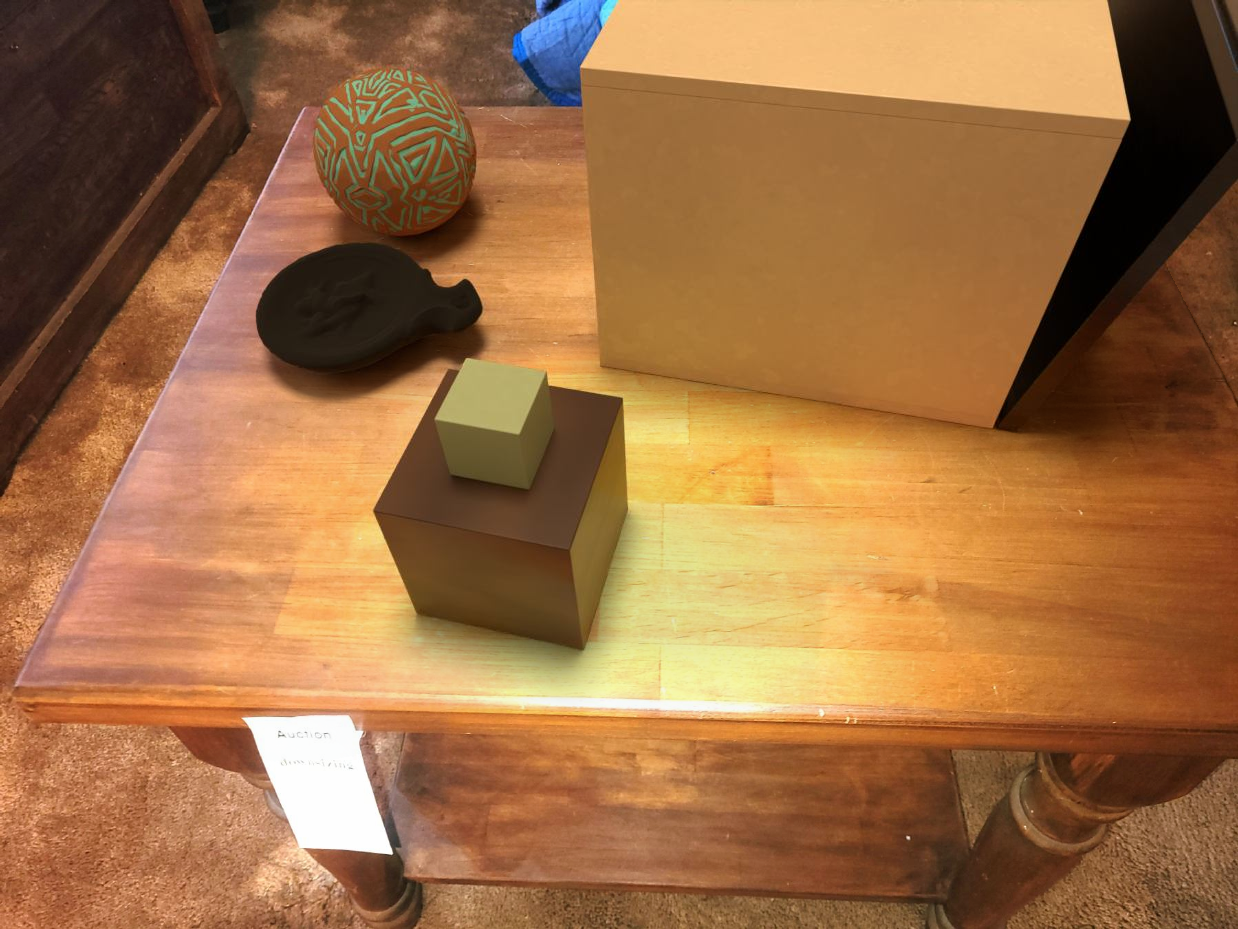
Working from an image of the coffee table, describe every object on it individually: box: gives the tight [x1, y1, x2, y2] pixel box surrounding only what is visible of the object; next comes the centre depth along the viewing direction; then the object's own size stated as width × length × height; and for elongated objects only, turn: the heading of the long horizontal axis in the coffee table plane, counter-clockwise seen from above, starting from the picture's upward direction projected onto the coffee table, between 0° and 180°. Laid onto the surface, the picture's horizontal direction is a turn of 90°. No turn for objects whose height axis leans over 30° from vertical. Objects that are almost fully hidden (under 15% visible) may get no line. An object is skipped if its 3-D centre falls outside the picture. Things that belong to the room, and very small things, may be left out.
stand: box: [372, 368, 629, 651], centre depth 58 cm, size 12×12×12 cm
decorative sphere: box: [312, 66, 478, 236], centre depth 83 cm, size 15×15×15 cm
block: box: [435, 357, 554, 490], centre depth 51 cm, size 5×5×5 cm
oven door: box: [996, 0, 1238, 433], centre depth 70 cm, size 8×40×26 cm, turn 166°
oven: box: [579, 0, 1131, 429], centre depth 74 cm, size 32×40×26 cm
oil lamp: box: [255, 241, 484, 374], centre depth 76 cm, size 15×20×5 cm
